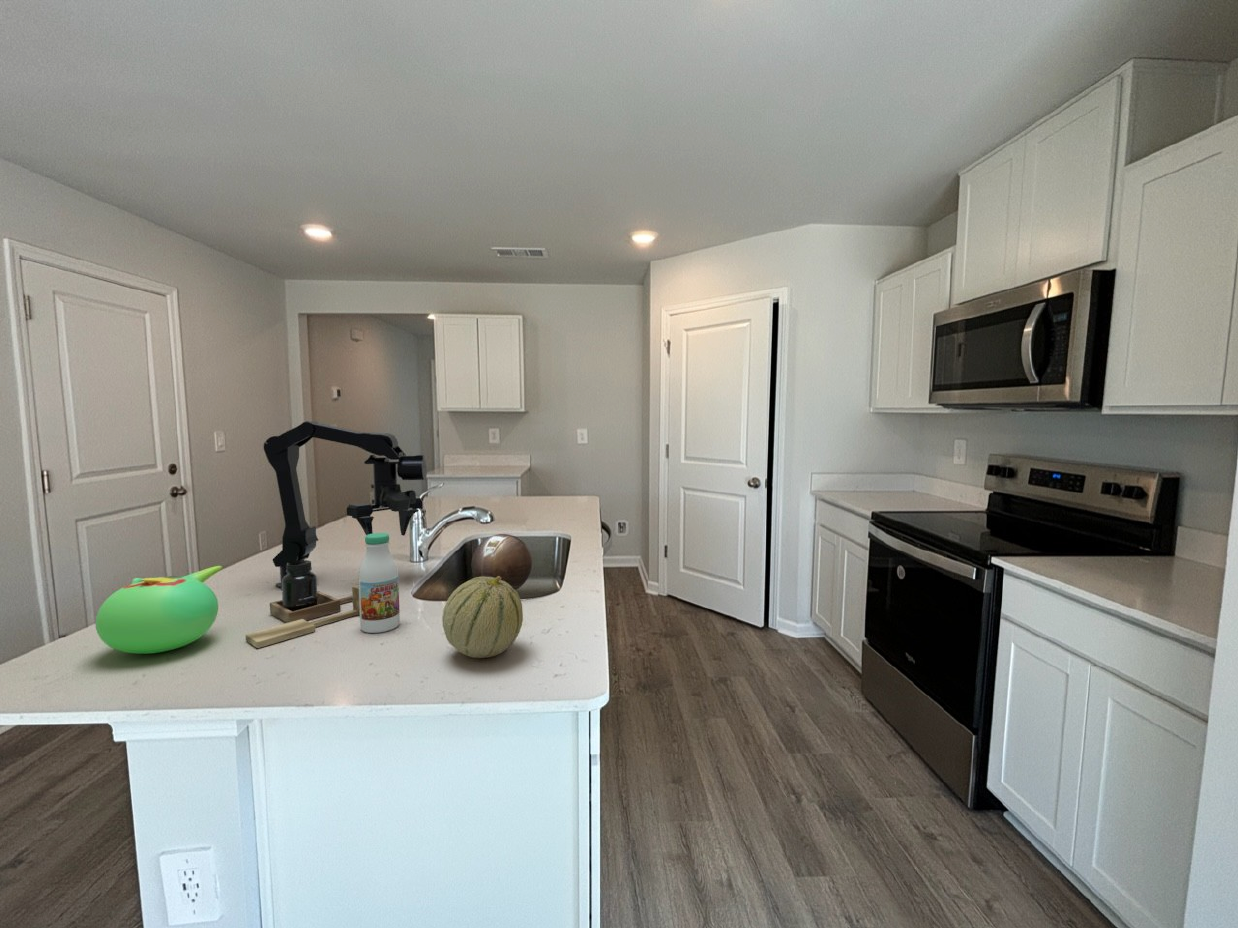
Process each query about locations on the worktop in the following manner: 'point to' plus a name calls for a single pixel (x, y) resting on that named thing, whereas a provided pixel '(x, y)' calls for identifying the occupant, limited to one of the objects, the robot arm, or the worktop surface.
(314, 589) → the supplement bottle
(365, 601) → the milk bottle
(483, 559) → the wooden sphere
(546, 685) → the worktop surface
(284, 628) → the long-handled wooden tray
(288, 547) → the robot arm
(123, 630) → the green spouted ovoid
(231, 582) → the worktop surface
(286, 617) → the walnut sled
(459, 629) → the cantaloupe
